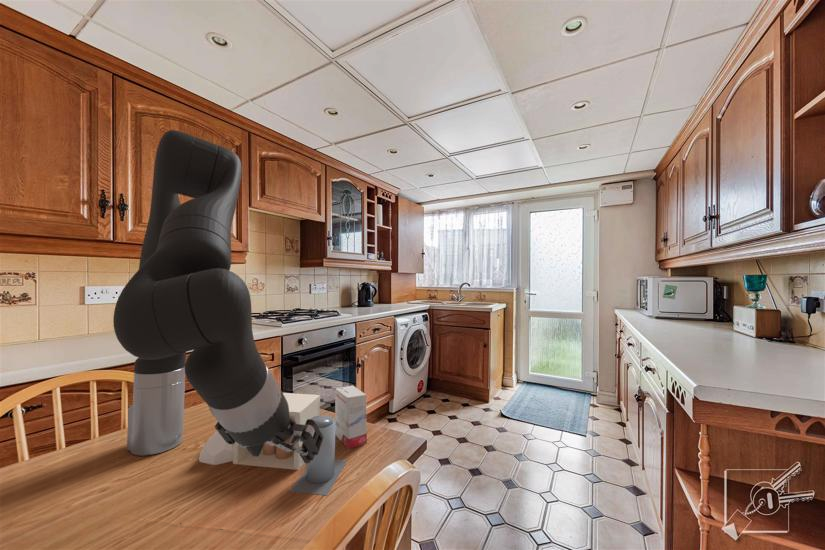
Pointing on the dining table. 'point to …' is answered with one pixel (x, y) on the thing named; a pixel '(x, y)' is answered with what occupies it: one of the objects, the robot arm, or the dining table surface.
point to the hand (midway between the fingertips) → (284, 453)
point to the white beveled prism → (216, 450)
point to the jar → (323, 452)
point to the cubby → (300, 412)
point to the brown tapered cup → (269, 449)
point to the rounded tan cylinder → (283, 452)
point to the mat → (320, 488)
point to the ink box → (350, 416)
